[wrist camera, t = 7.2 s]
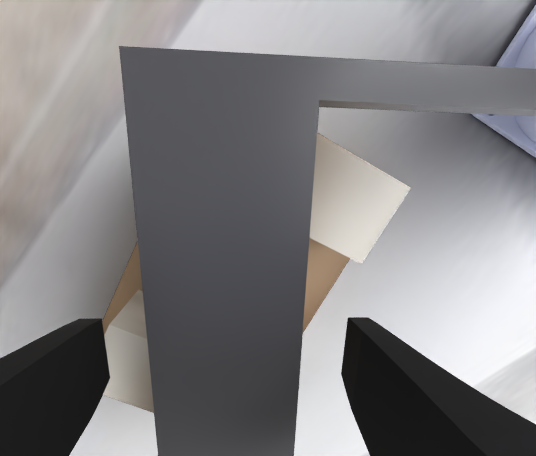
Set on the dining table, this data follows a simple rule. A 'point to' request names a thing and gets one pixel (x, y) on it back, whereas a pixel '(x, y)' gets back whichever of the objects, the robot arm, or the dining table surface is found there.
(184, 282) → the grey notched block
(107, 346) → the display stand
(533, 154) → the robot arm
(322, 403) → the dining table surface
